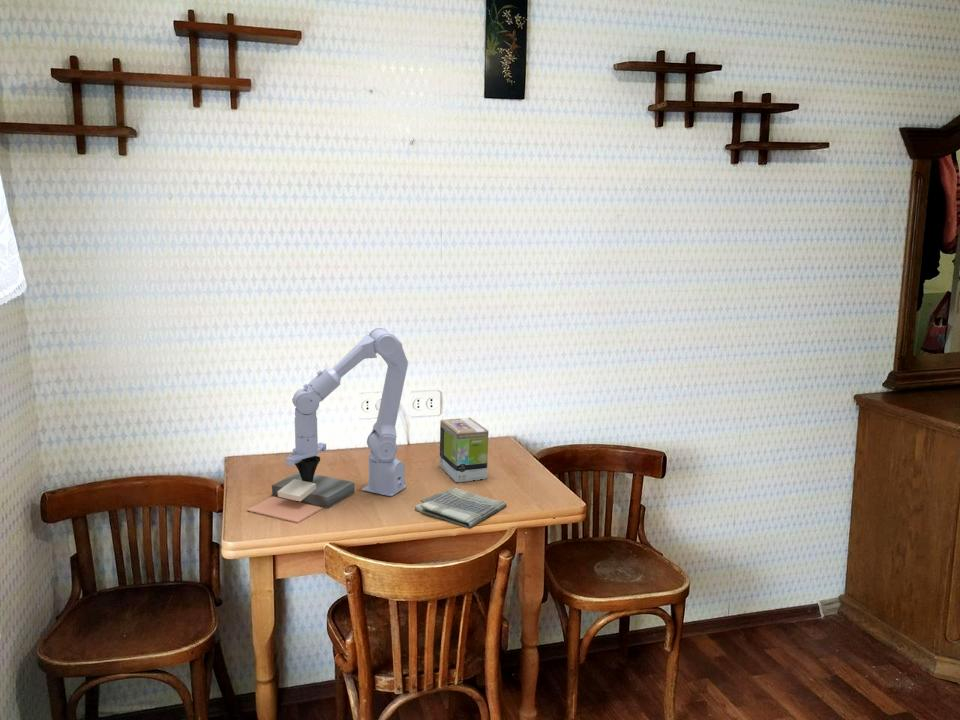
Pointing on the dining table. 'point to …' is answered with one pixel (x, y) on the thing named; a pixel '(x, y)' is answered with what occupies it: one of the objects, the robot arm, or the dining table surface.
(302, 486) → the coaster
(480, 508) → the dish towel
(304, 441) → the robot arm
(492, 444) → the dining table surface
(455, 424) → the tea box
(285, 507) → the mat
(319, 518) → the dining table surface
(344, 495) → the plate
